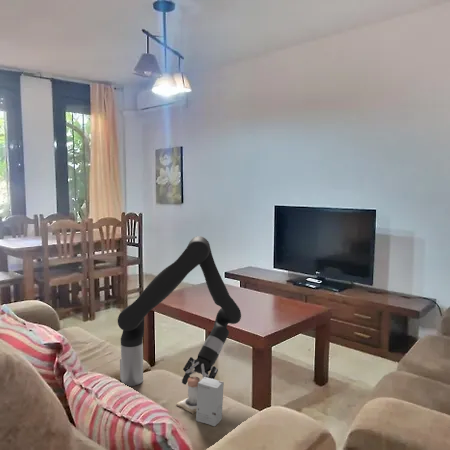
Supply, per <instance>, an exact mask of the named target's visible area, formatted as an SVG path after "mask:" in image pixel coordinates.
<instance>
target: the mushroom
mask: <svg viewBox="0 0 450 450" xmlns="http://www.w3.org/2000/svg"><path fill="white" fill-rule="evenodd" d="M199 381H201V379H200V377H197V376H190V378H188V382H187V397H188V403H190V404H197V391H198V382H199Z"/></svg>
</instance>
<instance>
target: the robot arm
mask: <svg viewBox="0 0 450 450" xmlns="http://www.w3.org/2000/svg"><path fill="white" fill-rule="evenodd" d="M198 266H200V269H201V271H202V274H203V278H204V280H205V282H206V283H205V284H206V287H207V289H208V292H209V293H210V296H211V298H212V300H213V301H214V304H215V305H217V306H218V307H220V309H219V310H218V312H217V313H216V317H215V320H214V323H213V328H211V331H210V333H209V335H208V337H207V338H206V339H205V341H204V343H203V344H202V346H201V348H200V349H199V352H198V354H197V358H196V359H195V358H193V357H192V356H191V357H189V359H188V360H187V361H186V364H185V365H184V367H183V369H182V370H183V371H184V372H185V373H184V375H183V378H182V379H181V383H182V384H183V385H187V384H188V378H190V377H191V376H192V375H193V374H196V373H198V374H200V375H202V379H203V378H204V377H207V378H211V379H216V376H217V374H218V372H219V369H218V368H217V367H216V366H213V365H215V364H216V362H217V359H218V358H219V355H221V352H222V350H223V348H224V345H225V343H226V341H227V339H228V337H229V334H230V331H229V329H228V325H229V324H230V325H235V324H238V323H239V322H240V321H241V320H242V312H241V309H240V307H239V306H238V304H237V303H236V302H235V300H234V299H233V298H232V297H231V296H230V294H229V291H228V288H227V286H226V284H225V282H224V280H223V278H222V275H220V272H219V270H218V268H217V266H216V262H215V260H214V257H213V253H212V249H211V245H210V242H209V241H208V239H207V238H206V237H204V236H199V235H198V236H194V237H193V238H191V239H190V241H189V242H188V245H187V246H186V248H185V249H184V251H183V252H181V254H180V255H179V257H178V258H177V259H176V260H175V261H174V262H173V263H171V264H170V265H168V266H166V267H165V268H163V270H161V271H160V272H159V273H158V274H157V275H156V276H155V277H154V278H153V279H152V280H151V282H149V284H148V285H147V286H146V287H145V289H144V290H142V292H141V294H140V295H139V296H138V297H137V298H136V299H135V301H133V302H132V303H131V304H129V305H128V306H126V307H125V308H124V309H122V311H120V313H119V315H118V316H117V325H118V327H119V329H120V330H122V334H121V337H120V360H119V375H120V376H119V380H120V381H121V383H124V384H126V385H128V386H127V387H134V386H138V385H141V384H142V383H143V382H144V345H143V343H144V342H143V340H144V335H145V317H146V316H147V315H148V314H149V313H150V311H152V310H153V309H154V308H156V307H157V306H158V305H160V303H161V302H163V301H164V300H165V299H167V297H169V296H170V295H171V294H172V293H173V292H174V291H175V289H176V288H178V287H179V285H180V284H181V283H182V282H183V281H184V279H185V278H186V277H187V275H188V274H190V272H192V271H193V270H194V269H195V268H197V267H198ZM124 384H123V385H124ZM126 385H125V386H126Z"/></svg>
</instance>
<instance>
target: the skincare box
mask: <svg viewBox="0 0 450 450" xmlns="http://www.w3.org/2000/svg"><path fill="white" fill-rule="evenodd" d="M224 386H225V385H224V381H221V380H218V379H216V378H214V379H211V378H207V377H204V378H203V377H202V378H201V379H200V381H199V382H198V391H197V410H196V412H195V415H196V416H195V421H196V422H199V423H202V424H207V425H209V426H212V427H216V426H217V425H218V424H219V423H220V422H221V420H222V419H223V402H224Z"/></svg>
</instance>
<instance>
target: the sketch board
mask: <svg viewBox="0 0 450 450" xmlns="http://www.w3.org/2000/svg"><path fill="white" fill-rule="evenodd" d="M176 406H177V407H179V408H181V409H183V410H185V411H187V412H189V413H191V414H196V410H197V404H190V403H188V396H187V397H185V398H183V399H182V400H180V401H178V402H176Z"/></svg>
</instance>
